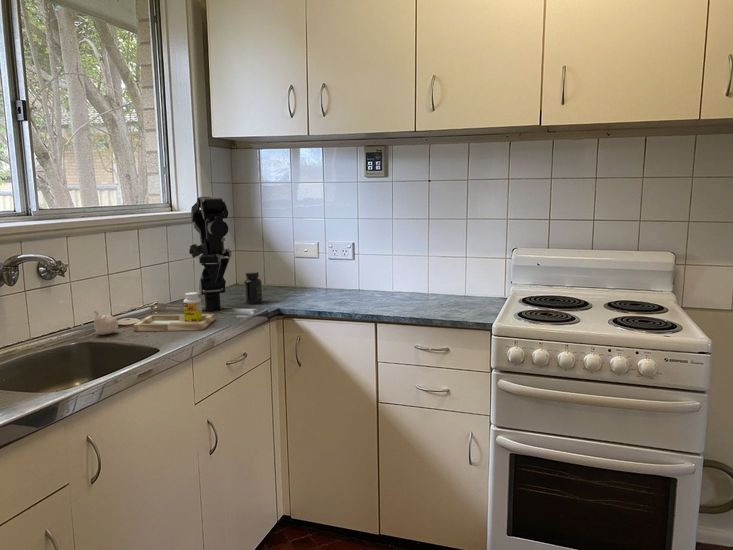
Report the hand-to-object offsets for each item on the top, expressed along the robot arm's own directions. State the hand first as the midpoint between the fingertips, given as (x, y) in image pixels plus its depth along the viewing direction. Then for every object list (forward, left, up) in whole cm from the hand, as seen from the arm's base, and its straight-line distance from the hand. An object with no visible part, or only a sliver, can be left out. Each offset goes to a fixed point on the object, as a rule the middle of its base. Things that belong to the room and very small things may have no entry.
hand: (217, 280), depth 190 cm
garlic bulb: (+20, -30, -13) cm, 38 cm away
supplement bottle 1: (+10, -6, -13) cm, 17 cm away
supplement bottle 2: (-24, +7, -13) cm, 28 cm away
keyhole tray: (+10, -12, -13) cm, 20 cm away
